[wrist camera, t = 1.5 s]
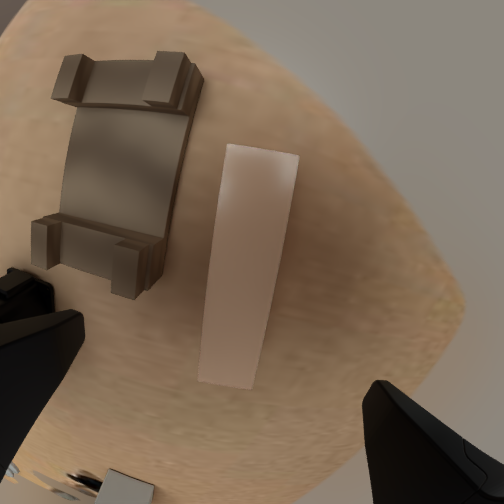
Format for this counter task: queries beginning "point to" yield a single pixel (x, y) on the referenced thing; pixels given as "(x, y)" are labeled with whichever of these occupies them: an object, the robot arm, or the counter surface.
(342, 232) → the counter surface
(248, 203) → the clay bar
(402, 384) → the counter surface
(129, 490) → the milk carton
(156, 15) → the counter surface
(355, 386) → the counter surface
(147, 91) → the bracket
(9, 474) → the lid
